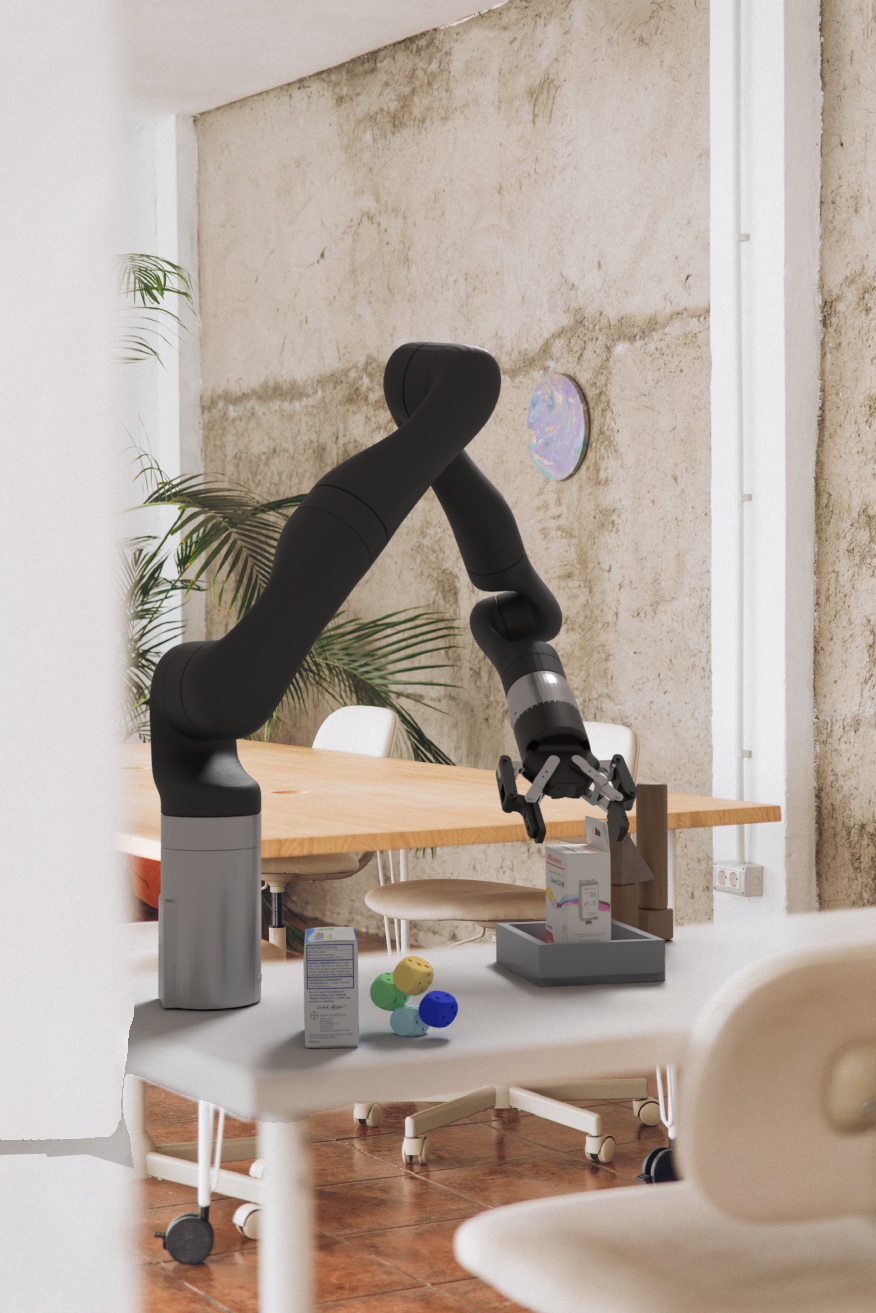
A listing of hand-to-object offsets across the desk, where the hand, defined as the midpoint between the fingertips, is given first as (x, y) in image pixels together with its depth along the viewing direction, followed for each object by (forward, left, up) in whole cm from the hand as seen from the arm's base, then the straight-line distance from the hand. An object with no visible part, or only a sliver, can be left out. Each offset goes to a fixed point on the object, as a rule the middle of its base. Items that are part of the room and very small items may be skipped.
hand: (581, 837), depth 162 cm
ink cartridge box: (0, +1, -13) cm, 13 cm away
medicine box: (-30, -24, -14) cm, 41 cm away
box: (0, +1, -14) cm, 14 cm away
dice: (-23, -24, -14) cm, 36 cm away
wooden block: (+12, +16, -14) cm, 25 cm away
